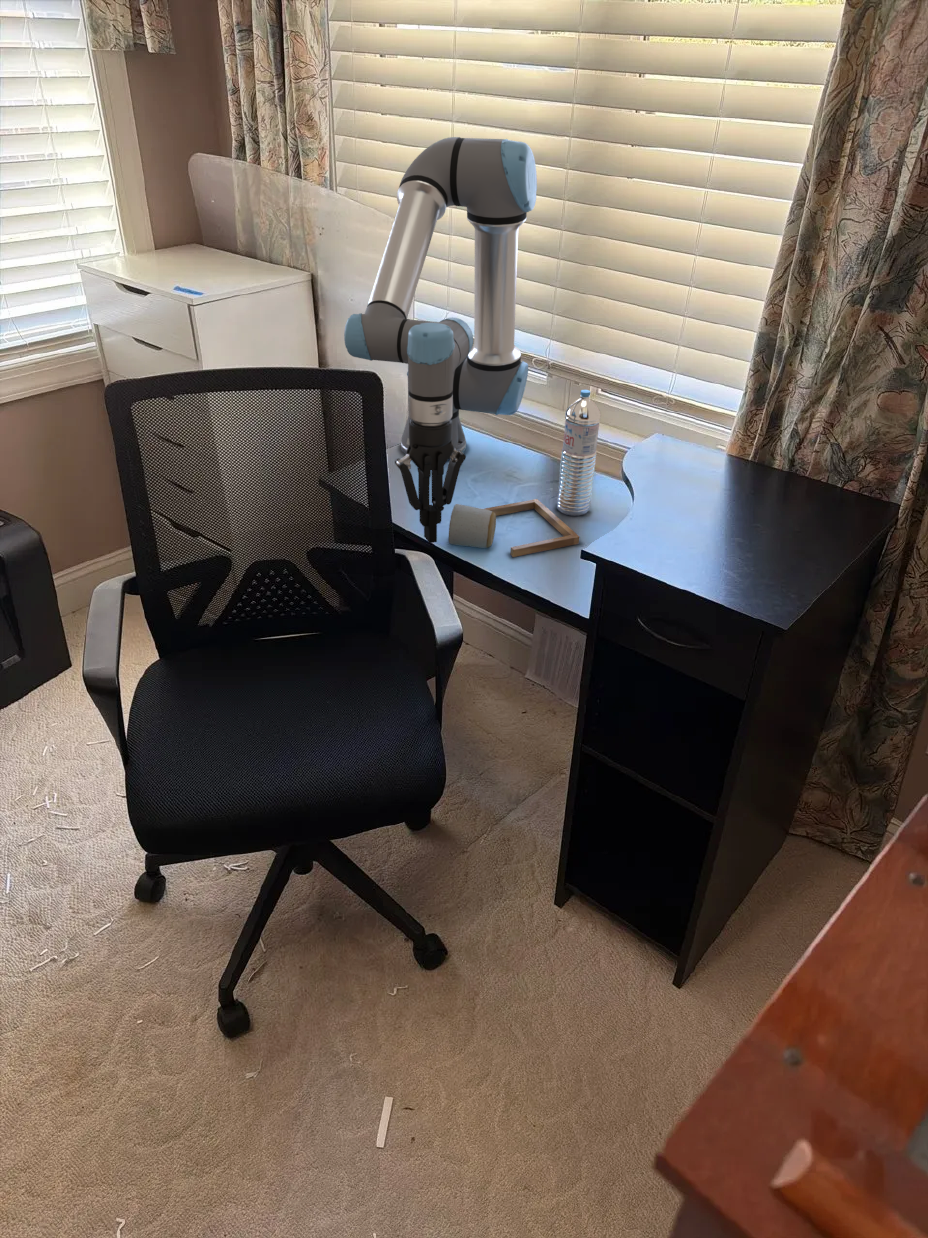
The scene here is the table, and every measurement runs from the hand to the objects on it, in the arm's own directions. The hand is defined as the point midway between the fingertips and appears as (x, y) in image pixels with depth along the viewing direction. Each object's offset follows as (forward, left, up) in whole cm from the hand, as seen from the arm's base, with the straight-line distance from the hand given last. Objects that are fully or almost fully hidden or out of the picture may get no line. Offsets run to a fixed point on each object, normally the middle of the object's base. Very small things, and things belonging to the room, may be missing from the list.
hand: (430, 539), depth 160 cm
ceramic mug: (0, +9, -2) cm, 9 cm away
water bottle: (-4, +34, -2) cm, 34 cm away
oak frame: (0, +20, -2) cm, 20 cm away
